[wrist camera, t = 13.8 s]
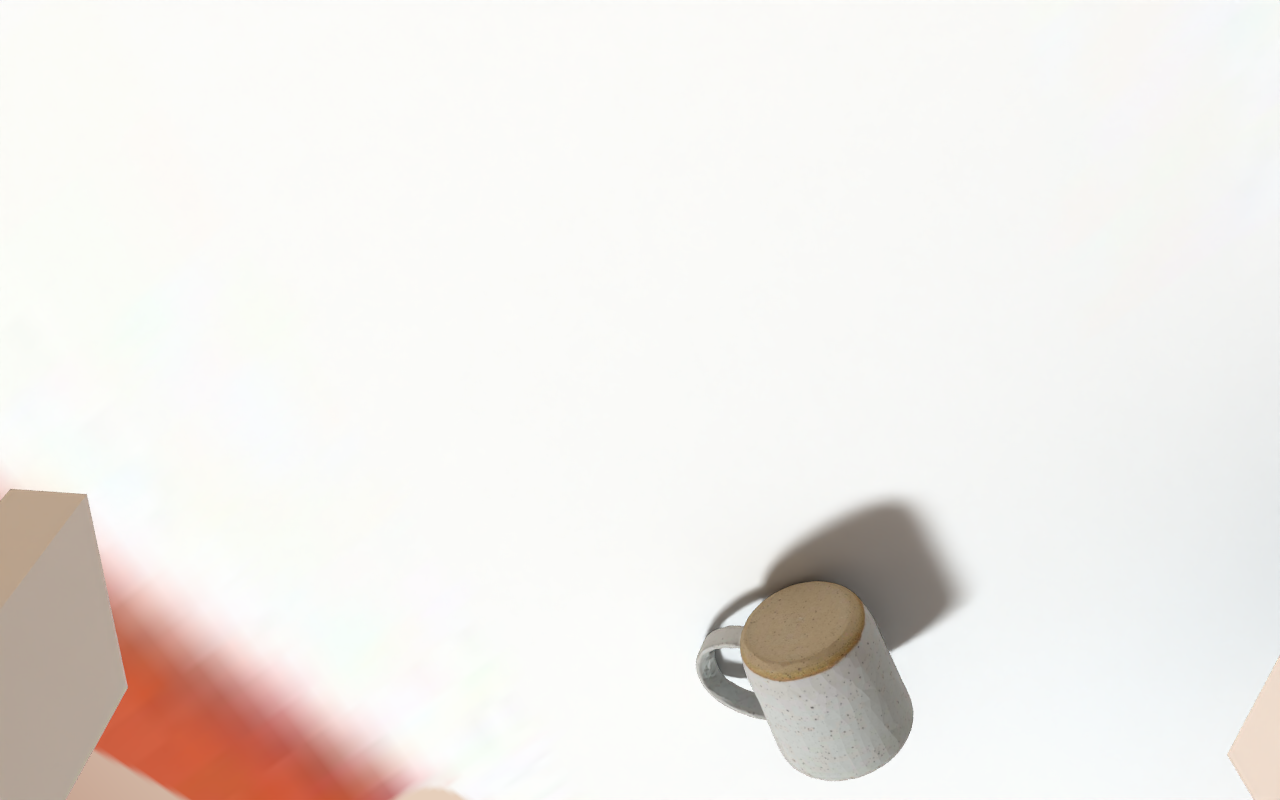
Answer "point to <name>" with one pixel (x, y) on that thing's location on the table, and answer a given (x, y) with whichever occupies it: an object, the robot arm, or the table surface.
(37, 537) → the robot arm
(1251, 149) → the table surface
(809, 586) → the ceramic mug
